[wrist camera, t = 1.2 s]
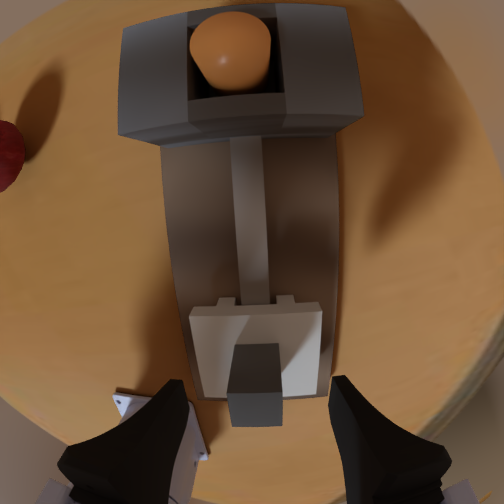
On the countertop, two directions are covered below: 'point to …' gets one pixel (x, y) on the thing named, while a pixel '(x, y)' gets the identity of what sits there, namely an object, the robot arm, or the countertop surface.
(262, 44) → the brown egg
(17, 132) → the onion
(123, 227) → the countertop surface
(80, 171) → the countertop surface
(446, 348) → the countertop surface
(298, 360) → the carriage
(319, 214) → the rail bed
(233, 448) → the countertop surface
